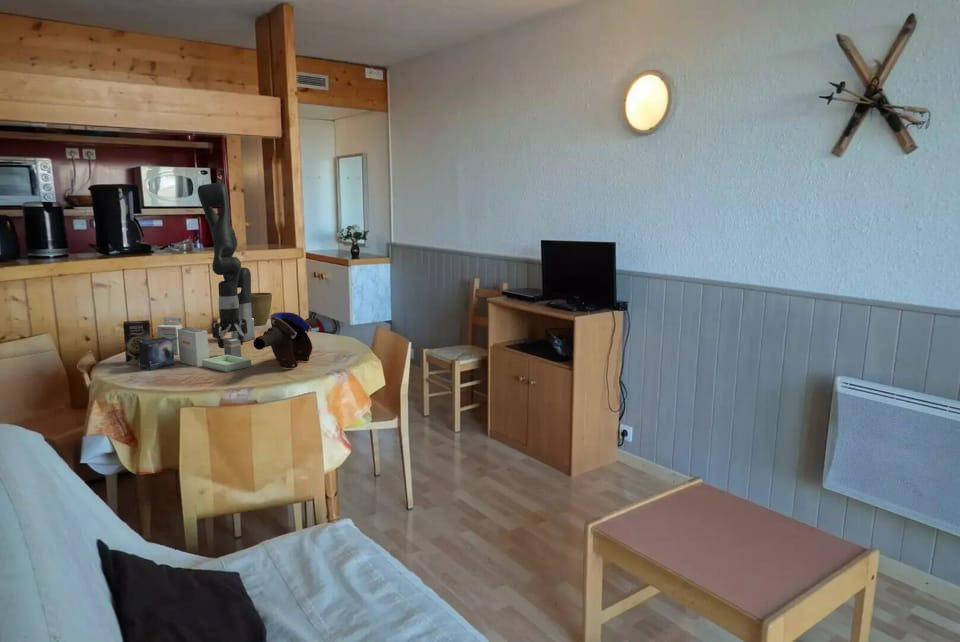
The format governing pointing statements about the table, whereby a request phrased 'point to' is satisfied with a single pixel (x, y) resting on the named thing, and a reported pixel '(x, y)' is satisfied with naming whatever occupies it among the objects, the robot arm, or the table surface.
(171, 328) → the ink cartridge box
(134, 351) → the coffee box
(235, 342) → the module
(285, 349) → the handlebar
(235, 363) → the tray
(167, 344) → the small box
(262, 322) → the plant pot
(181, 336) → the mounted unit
